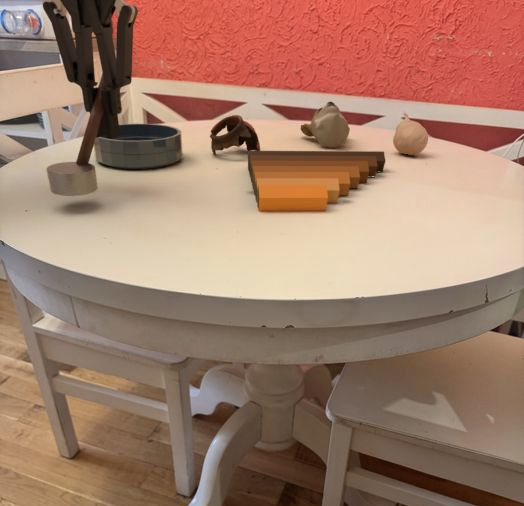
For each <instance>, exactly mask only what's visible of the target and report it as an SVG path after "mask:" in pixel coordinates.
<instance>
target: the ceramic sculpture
mask: <svg viewBox="0 0 524 506" xmlns="http://www.w3.org/2000/svg"><path fill="white" fill-rule="evenodd" d="M350 129H351V128H350V127H349V124H348V121H347V119H345V116H343V114H342V112H341V110H340V108H339V106H338V105H336V104H335V103H334V102H333V101H328V102H326V104H325V105H324V106H322V107H319V108H318V109H317V110H316V111H315V112H314V114H313V117H312V118H311V121H310V123H303V124H301V125H300V131H301V133H302V134H303V135H304V136H306V137H309V138H311V137H314V139H316V140H317V141H318V143H319V145H320V146H321V147H324V148H328V149H333V148H337V147H341V146H342V145H344V144H345V142H346V141H347V139H348V137H349V135H350Z"/></svg>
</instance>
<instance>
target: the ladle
mask: <svg viewBox="0 0 524 506" xmlns="http://www.w3.org/2000/svg"><path fill="white" fill-rule="evenodd" d="M103 86H105V83H104V77H103V72H102V73H101V76H100V79H99V82H98V85H97V87H98V90H97V93H96V96H95V100H94V103H93V107H92V110H91V113H90V112H89V117H88V120H87V124H86V127H85V130H84V134H83V137H82V140H81V144H80V147H79V151H78V154H77V158H76V161H64V162H58V163H52V164H51V165H48V166H47V167H46V169H45V170H46V173H47V179H48V185H49V190H50V192H51V193H52V194H53V195H58V196H62V197H77V196H78V197H79V196H87V195H90V194H93V193H95V192H96V191H98V189H99V187H98V179H97V172H96V166H95V165H94V164H93V163H90V159H91V156H92V152H93V150H94V147H93V146H94V143H95V139H96V136H97V132H98V129H99V125H100V122H101V118H102V115H103V104H102V96H101V91H102V90H104V89H103Z"/></svg>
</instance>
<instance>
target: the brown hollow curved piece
mask: <svg viewBox="0 0 524 506" xmlns="http://www.w3.org/2000/svg"><path fill="white" fill-rule="evenodd" d="M210 129H211V130H210V135H209V138H210V139H211V141H210V149H211V152H212V154H213V155H215V156H216V154H217V151H224V149H225V150H226V149H229V148H231V147H237V148H240V147H241V146H243V145H244V144H245V146H246V152H249V151H261V144H260V141H259V137H258V134H257V132H256V130H255V128H254V127H253V125H252V124H250V123H249V122H248V121H246V120H244V119H243V117H242V116H241V115H239V114H233V115H228V116H226V117H224V118H222V119H220V120H219V121H218V122H217V123H216V124H214V126H213V127H212V128H210ZM225 129H226V131H227V132H226V133H225V134H222V135H221V134H220V135H218V134H219V133H220V132H222V131H223V130H225Z"/></svg>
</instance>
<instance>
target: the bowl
mask: <svg viewBox="0 0 524 506" xmlns="http://www.w3.org/2000/svg"><path fill="white" fill-rule="evenodd" d="M119 131H120V136H118V137H115V138H113V139H107V134H106V135H104V136H101V137H98V138H96V139H95V143H94V146H93V152H94V158H95V160H96V162H98V163H101V164H102V165H106V166H108V167H111V168H116V169H124V170H149V169H158V168H163V167H167V166H170V165H172V164H174V163H177V162H179V161H181V160H182V159H183V155H184V154H183V152H184V151H183V138H182V137H183V135H182V131H181V130H180V129H179V128H178V127H175V126H171V125H165V124H159V123H157V124H156V123H121V124H120V123H119Z"/></svg>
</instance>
